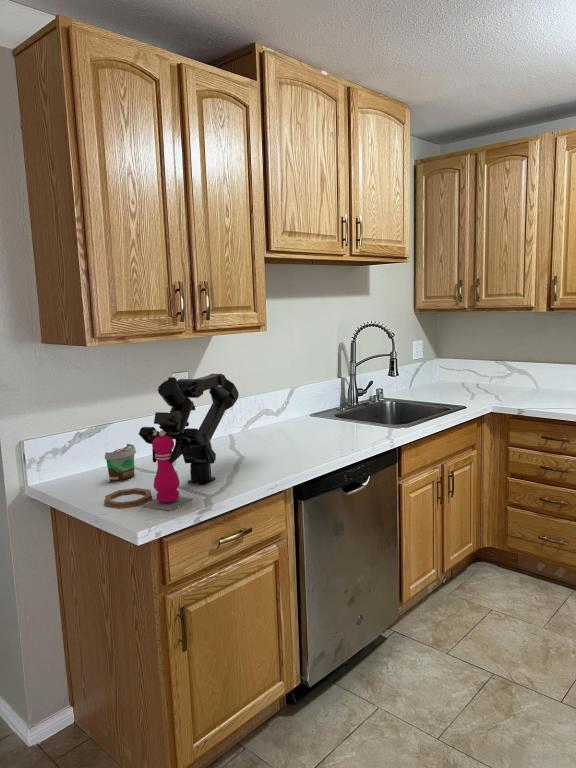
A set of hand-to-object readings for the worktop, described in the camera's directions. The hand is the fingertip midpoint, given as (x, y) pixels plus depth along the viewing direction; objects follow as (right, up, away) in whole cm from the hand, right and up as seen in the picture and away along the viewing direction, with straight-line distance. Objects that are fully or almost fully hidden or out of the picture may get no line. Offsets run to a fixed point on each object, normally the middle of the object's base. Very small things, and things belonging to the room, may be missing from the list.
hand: (162, 462), depth 167 cm
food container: (-18, -9, +29) cm, 35 cm away
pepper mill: (+1, -11, +3) cm, 11 cm away
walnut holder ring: (-11, -12, +7) cm, 18 cm away
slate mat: (+1, -12, +3) cm, 12 cm away
